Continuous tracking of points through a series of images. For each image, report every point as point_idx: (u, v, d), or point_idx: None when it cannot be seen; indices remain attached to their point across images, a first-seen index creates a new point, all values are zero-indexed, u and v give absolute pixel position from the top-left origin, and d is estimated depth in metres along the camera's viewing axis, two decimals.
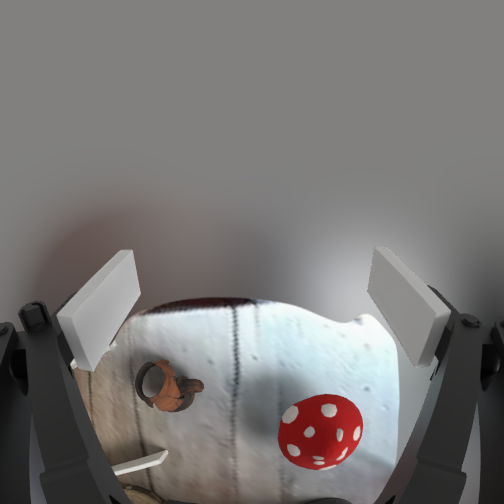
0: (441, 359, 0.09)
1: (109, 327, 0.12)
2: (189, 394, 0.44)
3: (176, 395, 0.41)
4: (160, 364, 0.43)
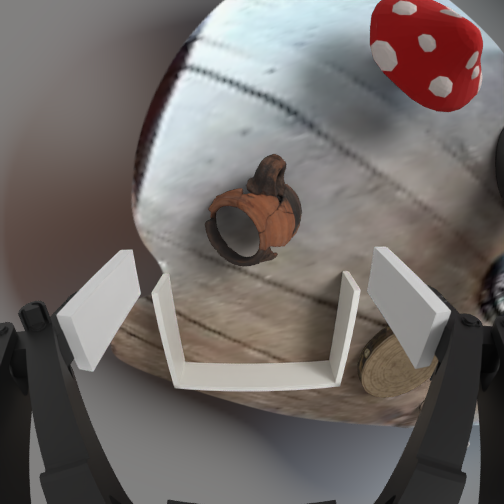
0: (441, 359, 0.09)
1: (109, 327, 0.12)
2: (282, 186, 0.29)
3: (273, 204, 0.27)
4: (214, 204, 0.28)
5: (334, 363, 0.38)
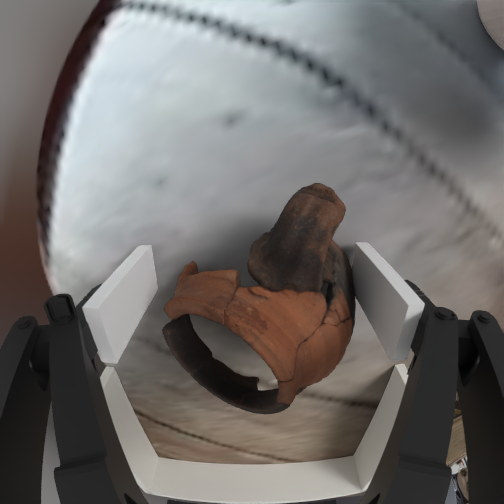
0: (417, 353, 0.09)
1: (131, 320, 0.12)
2: (327, 255, 0.13)
3: (314, 313, 0.11)
4: (173, 305, 0.12)
5: (362, 468, 0.22)
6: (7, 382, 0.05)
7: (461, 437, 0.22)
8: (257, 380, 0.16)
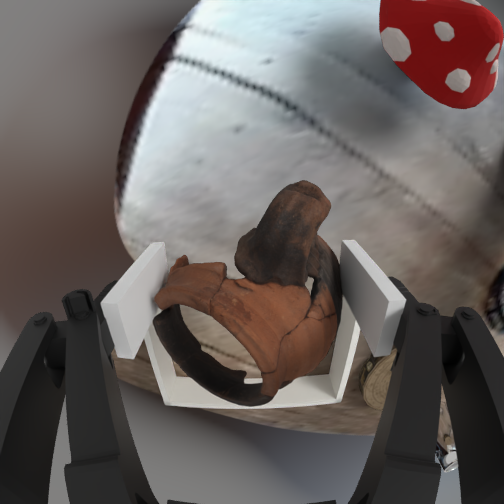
0: (399, 350, 0.10)
1: (146, 316, 0.13)
2: (314, 252, 0.13)
3: (297, 306, 0.11)
4: (163, 296, 0.12)
5: (335, 378, 0.35)
6: (20, 380, 0.06)
7: None
8: (244, 374, 0.16)
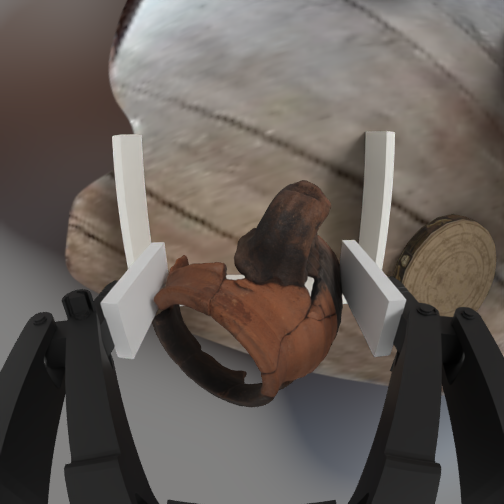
0: (399, 350, 0.10)
1: (146, 316, 0.13)
2: (314, 252, 0.13)
3: (297, 307, 0.11)
4: (162, 296, 0.12)
5: None
6: (20, 380, 0.06)
7: (463, 267, 0.28)
8: (244, 374, 0.16)
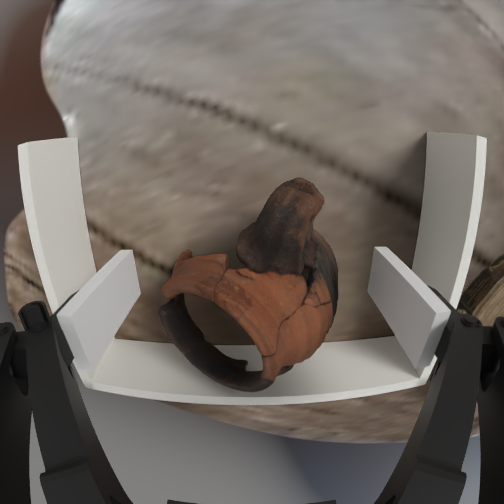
0: (441, 359, 0.09)
1: (109, 327, 0.12)
2: (310, 244, 0.14)
3: (294, 293, 0.12)
4: (169, 286, 0.13)
5: None
6: None
7: None
8: (246, 363, 0.17)
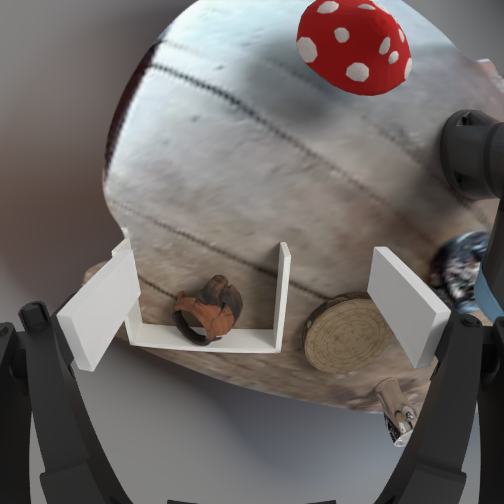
0: (441, 359, 0.09)
1: (109, 327, 0.12)
2: (225, 294, 0.41)
3: (216, 311, 0.39)
4: (177, 307, 0.39)
5: (275, 330, 0.43)
6: None
7: (358, 329, 0.44)
8: (205, 336, 0.44)
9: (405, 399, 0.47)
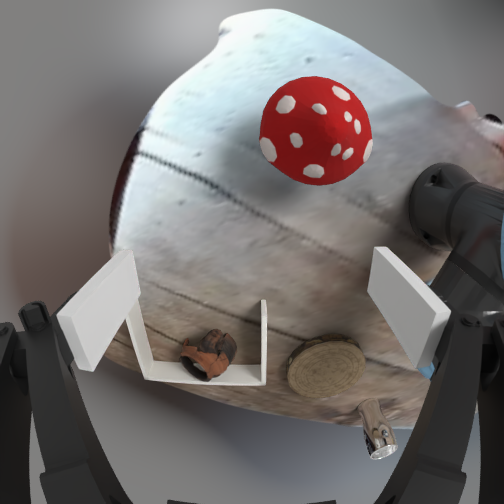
0: (441, 359, 0.09)
1: (109, 327, 0.12)
2: (221, 342, 0.49)
3: (213, 357, 0.47)
4: (182, 353, 0.48)
5: None
6: None
7: (333, 364, 0.51)
8: (207, 373, 0.52)
9: (382, 418, 0.53)
